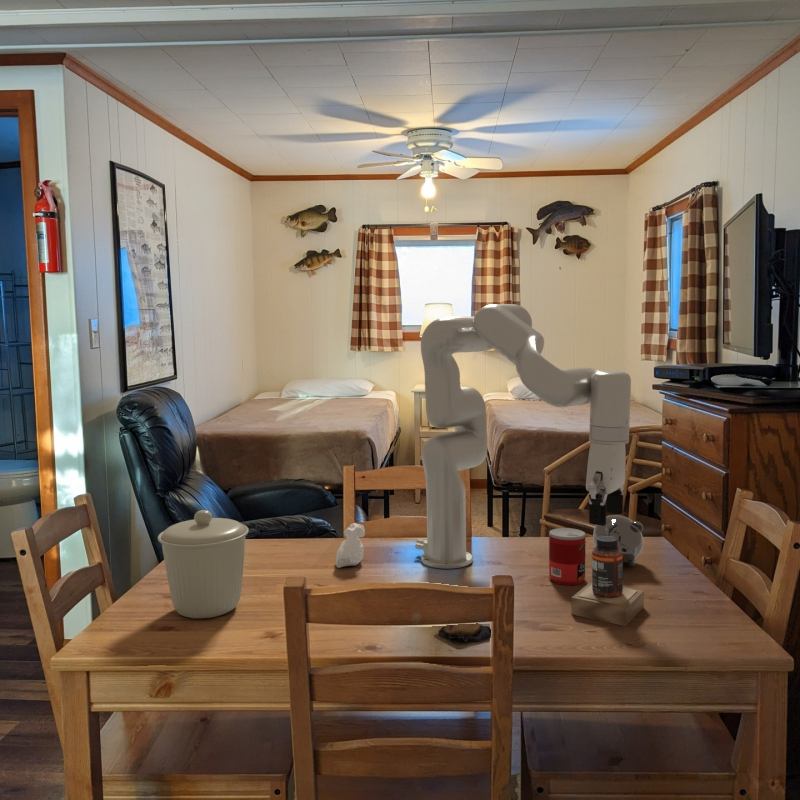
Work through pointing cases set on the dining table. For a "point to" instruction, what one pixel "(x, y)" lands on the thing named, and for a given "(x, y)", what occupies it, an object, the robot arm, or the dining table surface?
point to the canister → (204, 564)
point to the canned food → (567, 556)
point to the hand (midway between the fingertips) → (606, 518)
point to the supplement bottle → (607, 567)
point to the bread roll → (463, 634)
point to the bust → (351, 546)
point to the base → (608, 605)
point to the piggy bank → (622, 536)
